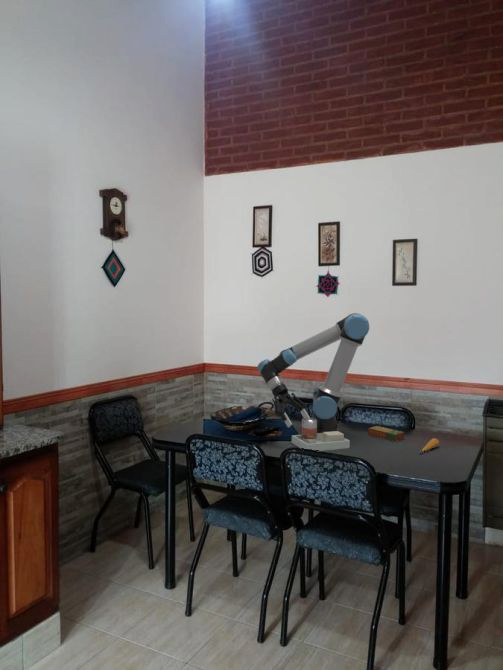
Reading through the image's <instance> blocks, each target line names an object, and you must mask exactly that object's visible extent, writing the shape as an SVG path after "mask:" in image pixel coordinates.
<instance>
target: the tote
mask: <svg viewBox="0 0 503 670" xmlns="http://www.w3.org/2000/svg"><path fill="white" fill-rule="evenodd" d="M322 440H323V433H317V440H316V443H313V444H307V443H306V442H304V441H302V434H296V435H291V444H292V445H294V446H296V447H297V448H299V449H301V448H304V449H312V450H319V451H318V452H323V451H324V452H327V451H335V450H336V451H337V450H345V449H350V444H351V443H350V442H351V441H350V440H349V439H348V438H345V437H344V441H334V442H323V443H322Z"/></svg>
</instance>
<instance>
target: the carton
mask: <svg viewBox="0 0 503 670" xmlns="http://www.w3.org/2000/svg"><path fill="white" fill-rule="evenodd" d="M367 431H368V432H367V436H369V435H370V436H369V437H372V436H374V437H373V438H377V437H379V438H378V439H381V438H383V439H382V440H385V439H388V440H387V441H389V440H393V441H397V440H400V439H403V438H404V439H405V432H404V431H401V430H396V429H392V428H387V427H383V426H379V425H376V426H372V427H369V428H368V430H367ZM404 439H403V440H404ZM393 441H392V442H393ZM400 441H401V440H400ZM397 442H398V441H397Z"/></svg>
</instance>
